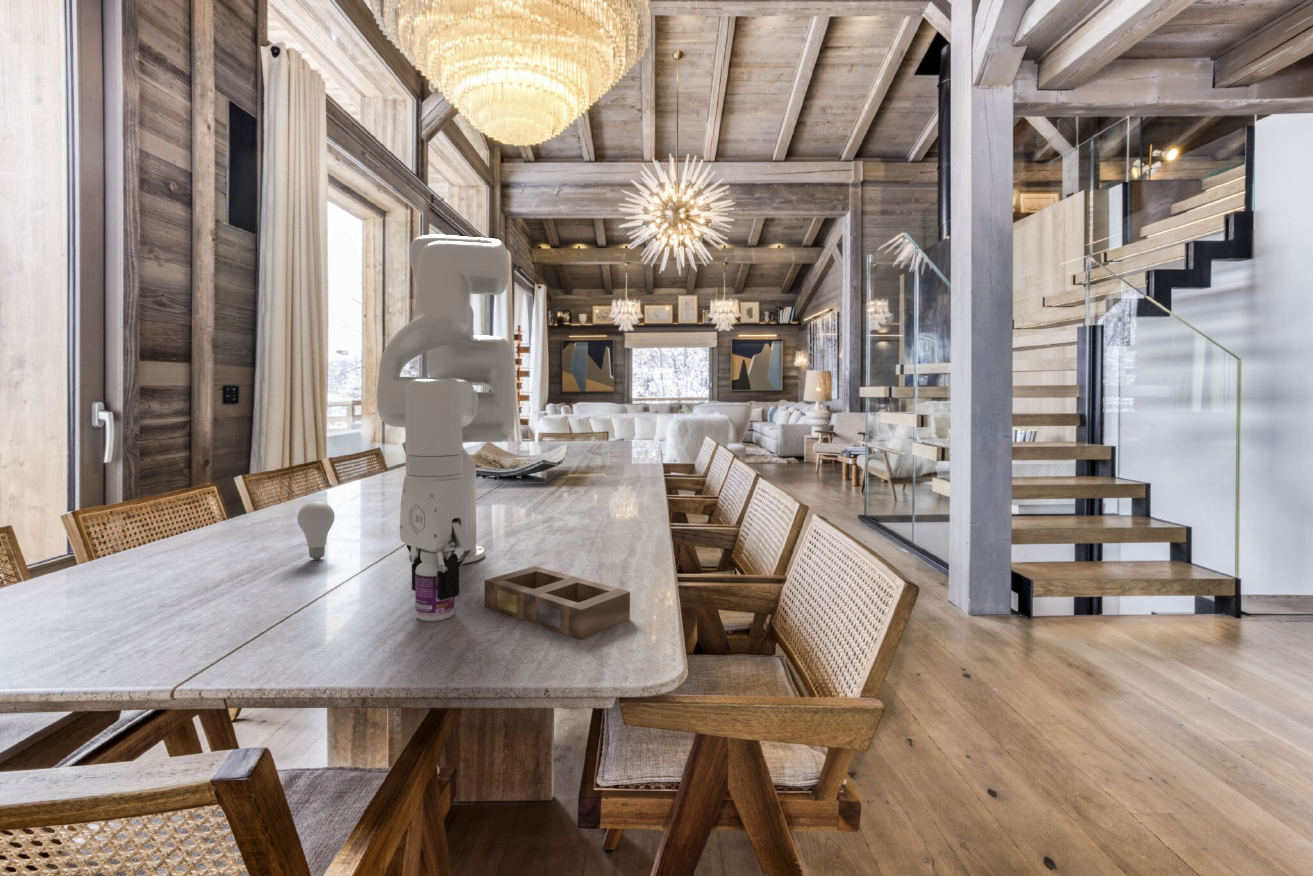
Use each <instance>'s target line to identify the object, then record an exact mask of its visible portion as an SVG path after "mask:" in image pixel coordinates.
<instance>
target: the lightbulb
mask: <svg viewBox="0 0 1313 876" xmlns="http://www.w3.org/2000/svg"><path fill="white" fill-rule="evenodd" d="M334 522H335V512H334V510H333V508H332V506H331V505H330V504H328V503H327V502H324V501H319V500H315V501H313V500H312V501H309V502H307V503H305V504H304V505H303V506H302V507H301V508H300V509H299V511H298V514H297V524H298V526H299V528H300V529H301V531H302V533H303V534H304V537H305V539H306V546H307V547H308V554H309V557H310V558H311V559H312V560H315V561H318V560H320V559H321V558H323V557H324V556H325V555H326V554H325V552H326V551H325V550H326V545H327V538H328V534H329V531H330V530H331V528H332V526H333V524H334Z"/></svg>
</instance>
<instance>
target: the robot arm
mask: <svg viewBox="0 0 1313 876" xmlns="http://www.w3.org/2000/svg"><path fill="white" fill-rule="evenodd" d="M507 250H508V249H507V248H506V245H505V243H504V242H503V241H501V240H499V239H496V238H487V237H485V238H484V237H475V236H474V237H473V236H472V237H471V236H460V235H450V234H448V235H446V234H427V235H426V234H425V235H420V236H418V237H416V238H414V239H412V241H411V243H410V245H409V261H410V266H411V269H412V275H413V277H414V281H415V283H416V284H415V301H414V316H413V319H412V320H411V321H409V322H408V323H407V324H405V325H404V326H403V327H402V328H401V329H400V330H399V331H397V332H396V334H395V335H393V337H392V339H391V340H390V341H389V342H388V344H387V345H386V347H385V348H384V350H383V353H382V355H381V358H380V360H379V361H380V362H379V367H378V378H377V379H378V380H377V389H376V410H377V413H378V416H379V418H380V420H381V421H382V422H383V423H384V424H385V425H387V426H390V427H393V428H405V431H404V432H405V433H404V434H405V436H404V437H405V475H404V479H403V484H402V489H401V497H400V499H401V500H400V513H399V514H400V515H399V538H400V541H401V542H402V543H403V544H404V545H406V548H407V550H408V553H409V558H408V560H409V562H410V563H411V590H412V591H414V592H415V571H416V568H417V566H418V565H419V564H420V563H422V561H421V559H420V553H421V550H422V549H423V550H426V551H430V552H437V556H438V561H439V566H440V570H441V571H438V572H437V598H438V599H439V600H444V599H448V598H451V597H455V598H456V597H457V596H459V595H460V569H462V566H463V565H464V564H468V563H470V564H471V563H473V562H476V561H479V560H481V559H482V558H484V557H485V552H486V551H485V548H484V547H482V546H480V545H478V544H477V467H476V463H475V461H474V458H473V457H472V456H471V455H470V454H469V452H468V451H467V450H466V449H465V448H464V447H463V444H467V443H501V442H505V441H508V440H509V439H510V438H511V437H512V435H513V434H514V430H515V415H516V414H515V413H516V412H515V408H516V407H515V366H514V365H515V362H514V353H513V349H512V345H511V344H510V343H509V341H508V340H507V339H505V338H504V337H501V336H495V335H476V334H475V332H474V331H475V330H474V320H475V319H474V316H475V315H474V309H473V308H472V307H473V306H471V295H484V296H485V295H488V296H489V295H491V296H497V295H498V296H500V295H502V294H503V293H504V292H505V290H506V289H507V286H508V282H509V277H510V276H509V274H510V273H509V271H510V270H509V269H510V268H509V265H510V264H509V254H508V251H507ZM422 354H426V367H427V368H426V369H427V373H428V377H426V376H425V377H424V376H401V372H402V370H403V369H404V368H405V366H407V364H408V363H410V361H412V360H413V359H415V358H417V357H418V356H421V355H422ZM474 386H484V387H487V388H488V389H489V391H486V392H485V391H477V389H475V388H474ZM446 547H447V548H446ZM446 552H450V556H449V558H448V559H446V554H445V553H446Z"/></svg>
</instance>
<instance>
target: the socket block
mask: <svg viewBox="0 0 1313 876" xmlns="http://www.w3.org/2000/svg"><path fill="white" fill-rule="evenodd" d="M483 587H484V589H483V590H484V591H483V592H484V594H483V595H484V597H483V598H484V599H483V600H484V602H483V603H484V605H483V606H484V607H485V608H489V609H492V610H494V611H498V612H501V613H502V614H506V615H509V616H511V617H515V618H517V619H520V620H523V621H526V622H529V623H531V624H534V625H535V624H536V625H537V626H540V627H543V628H547V629H549V630H553V631H555V632H558V633H561V634H564V635H566V636H569V637H572V638H575V639H578V640H583V639H586V638H588V637H591V636H593V635H595V634H598V633H600V632H603V631H604V630H607V629H610V628H612V627H613V626H614V627H615V626H616V625H619V624H622V623H623V622H626V621H628V620H630V617H631V616H630V615H631V614H630V612H631V591H629V590H627V589H622V588H618V587H614V586H611V585H607V584H603V583H599V582H595V581H592V580H588V579H584V578H580V577H578V576H577V577H576V576H573V575H569V574H566V573H562V572H559V571H554V570H551V569H548V568H547V569H546V568H544V567H540V566H536V565H535V566H530V567H527V568H523V569H519V570H517V571H512V572H509V573H505V574H502V575H501V574H500V575H498V576H494V577H491V578H487V579H484V586H483Z"/></svg>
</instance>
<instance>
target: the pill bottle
mask: <svg viewBox="0 0 1313 876" xmlns="http://www.w3.org/2000/svg"><path fill="white" fill-rule="evenodd" d="M446 548H447V547H446ZM445 554H446V559H448V558H449V556H450V552H446V553H445ZM420 559H421V561H422V563H420V564H419V565H418V566H417V568H416V571H415V591H414V598H415V600H414V601H415V604H414V605H415V607H414V609H415V611H414V612H415V614H414V615H415V617H416V619H418V620H420V621H423V622H439V621H443V620H447V619H449V618H451V617H452V616H453V615H455V612H456V611H455V609H456V606H455V605H456V601H455V600H456V596H455V597H451V598H448V599H444V600H439V599H438V598H437V572H438V571H441V570H440V566H439V561H438V556H437V552H430V551H426V550H423V549H422V550H421V553H420Z"/></svg>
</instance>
